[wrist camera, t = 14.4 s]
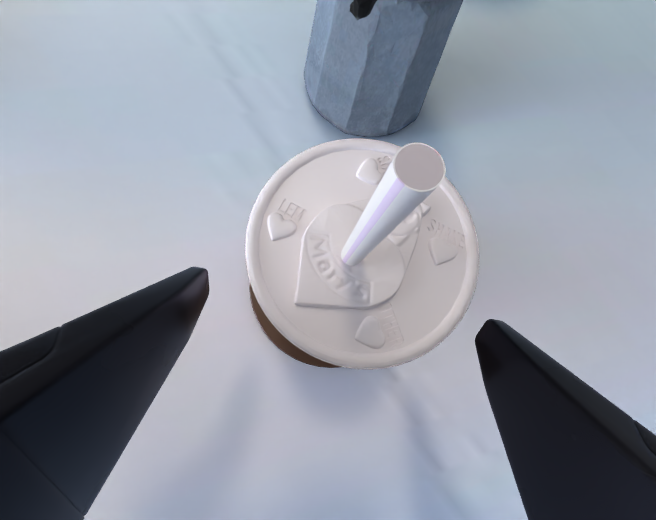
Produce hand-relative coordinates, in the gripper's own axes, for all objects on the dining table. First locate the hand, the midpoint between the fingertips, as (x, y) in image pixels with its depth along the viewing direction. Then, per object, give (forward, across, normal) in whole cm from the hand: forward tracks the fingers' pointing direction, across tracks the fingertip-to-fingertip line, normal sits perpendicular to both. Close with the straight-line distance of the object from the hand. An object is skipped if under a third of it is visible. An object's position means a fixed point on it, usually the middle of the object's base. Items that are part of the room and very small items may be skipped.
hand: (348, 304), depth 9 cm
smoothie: (+7, 0, +4) cm, 8 cm away
